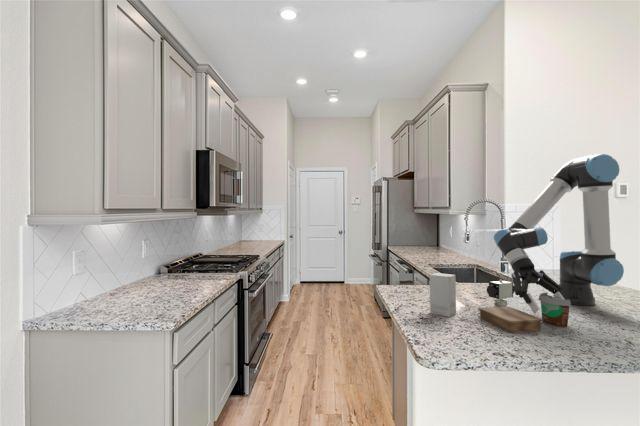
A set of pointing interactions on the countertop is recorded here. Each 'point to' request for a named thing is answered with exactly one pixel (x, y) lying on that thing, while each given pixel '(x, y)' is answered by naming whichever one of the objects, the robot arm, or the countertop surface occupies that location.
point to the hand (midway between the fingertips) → (552, 310)
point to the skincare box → (443, 294)
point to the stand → (510, 319)
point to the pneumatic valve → (500, 292)
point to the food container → (554, 310)
